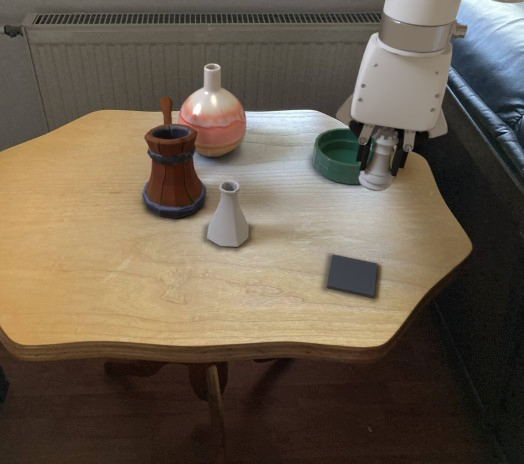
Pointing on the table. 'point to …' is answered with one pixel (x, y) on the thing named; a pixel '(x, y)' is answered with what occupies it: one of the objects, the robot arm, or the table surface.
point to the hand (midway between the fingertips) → (378, 167)
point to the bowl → (338, 155)
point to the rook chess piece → (380, 161)
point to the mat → (352, 276)
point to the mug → (172, 168)
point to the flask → (228, 218)
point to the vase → (214, 116)
